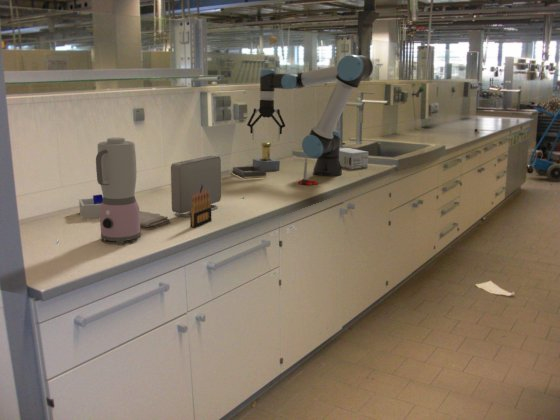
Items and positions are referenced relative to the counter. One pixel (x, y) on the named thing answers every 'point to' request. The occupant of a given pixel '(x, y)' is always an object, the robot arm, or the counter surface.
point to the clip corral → (89, 208)
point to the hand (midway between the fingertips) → (265, 139)
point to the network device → (195, 182)
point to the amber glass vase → (265, 151)
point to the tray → (241, 170)
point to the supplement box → (353, 158)
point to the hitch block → (267, 164)
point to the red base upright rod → (304, 181)
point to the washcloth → (152, 220)
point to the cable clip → (98, 199)
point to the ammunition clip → (200, 209)
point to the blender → (118, 190)
